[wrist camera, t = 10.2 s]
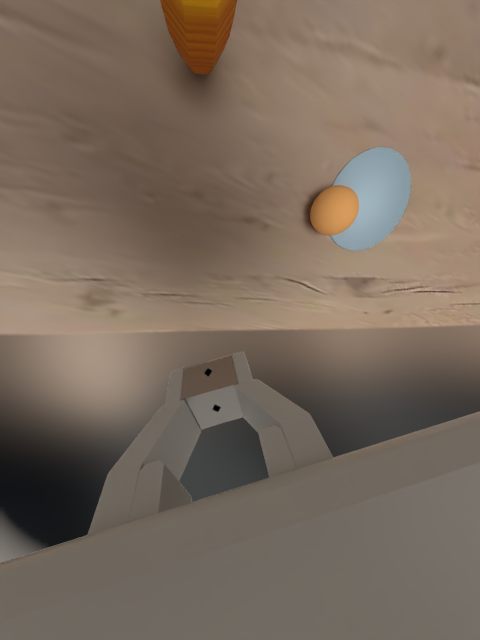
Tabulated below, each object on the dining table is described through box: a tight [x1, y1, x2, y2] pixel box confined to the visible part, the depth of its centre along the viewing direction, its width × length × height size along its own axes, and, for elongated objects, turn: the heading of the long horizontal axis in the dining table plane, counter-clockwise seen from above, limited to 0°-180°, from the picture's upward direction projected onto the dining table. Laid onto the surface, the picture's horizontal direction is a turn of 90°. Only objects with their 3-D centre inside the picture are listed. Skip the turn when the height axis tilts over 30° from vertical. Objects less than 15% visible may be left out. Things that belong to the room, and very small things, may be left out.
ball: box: [310, 185, 359, 235], centre depth 25 cm, size 5×5×5 cm
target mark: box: [330, 147, 411, 250], centre depth 28 cm, size 12×12×1 cm
